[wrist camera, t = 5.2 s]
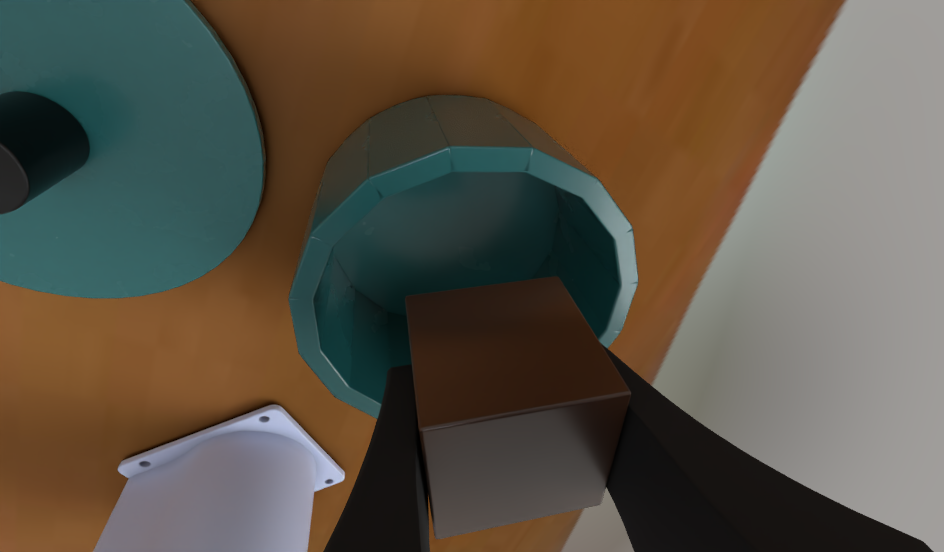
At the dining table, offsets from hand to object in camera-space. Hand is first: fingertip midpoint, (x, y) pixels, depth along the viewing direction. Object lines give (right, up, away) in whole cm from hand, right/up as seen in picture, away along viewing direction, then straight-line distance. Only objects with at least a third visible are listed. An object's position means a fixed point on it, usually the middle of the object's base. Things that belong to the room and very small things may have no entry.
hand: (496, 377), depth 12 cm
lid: (-15, +8, +3) cm, 16 cm away
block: (0, +1, +1) cm, 1 cm away
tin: (-2, +5, +8) cm, 10 cm away
